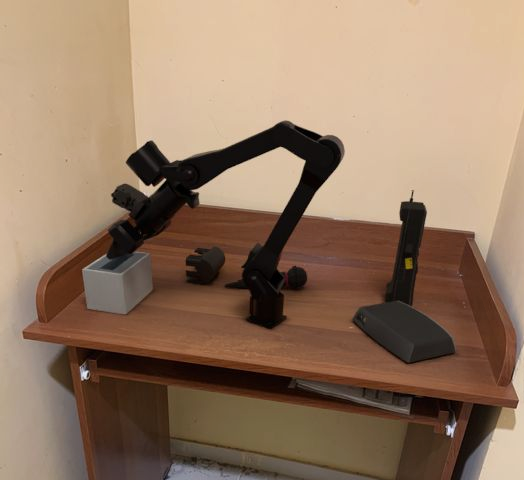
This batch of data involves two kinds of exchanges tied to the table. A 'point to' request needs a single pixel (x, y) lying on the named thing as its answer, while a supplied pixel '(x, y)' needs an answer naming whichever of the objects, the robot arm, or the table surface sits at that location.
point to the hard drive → (405, 331)
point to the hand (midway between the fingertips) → (118, 250)
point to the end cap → (204, 264)
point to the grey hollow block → (118, 282)
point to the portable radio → (407, 252)
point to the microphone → (294, 276)
